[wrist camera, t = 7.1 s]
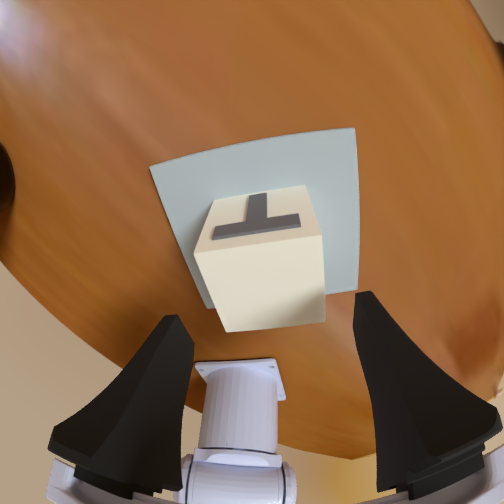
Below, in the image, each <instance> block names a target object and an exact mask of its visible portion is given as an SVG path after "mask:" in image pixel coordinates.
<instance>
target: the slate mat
mask: <svg viewBox="0 0 504 504" xmlns="http://www.w3.org/2000/svg"><path fill="white" fill-rule="evenodd" d="M149 168H150V171H151V173H152V176H153V179H154V182H155V185H156V187H157V190H158V193H159V196H160V198H161V201H162V204H163V206H164V209H165V211H166V214H167V217H168V219H169V222H170V224H171V227H172V229H173V232H174V234H175V237H176V239H177V242H178V244H179V246H180V249H181V251H182V254H183V256H184V258H185V261H186V263H187V265H188V268H189V270H190V272H191V275H192V277H193V279H194V281H195V284H196V286H197V288H198V290H199V293H200V295H201V297H202V299H203V301H204V304H205V306H206V308H207V309H210V308H215V305H214V303H213V301H212V298H211V296H210V294H209V291H208V289H207V286H206V284H205V281H204V279H203V277H202V274H201V272H200V269H199V267H198V264H197V262H196V259H195V257H194V254H193V253H194V250H195V248H196V245H197V242H198V240H199V237H200V234H201V232H202V229H203V226H204V224H205V221H206V219H207V216H208V214H209V211H210V209H211V206H212V204H213V201H214V200H218V199H223V198H229V197H234V196H240V195H245V194H251V193H257V192H263V191H269V190H276V189H282V188H289V187H296V186H303V185H305V186H306V189H307V192H308V195H309V198H310V200H311V203H312V206H313V209H314V212H315V215H316V218H317V221H318V224H319V227H320V230H321V233H322V243H323V259H324V278H325V295H326V294H332V293H339V292H345V291H351V290H357V286H358V268H359V233H360V215H359V179H358V162H357V149H356V137H355V128H353V127H352V128H340V129H330V130H320V131H312V132H304V133H296V134H289V135H283V136H276V137H270V138H264V139H259V140H253V141H248V142H243V143H238V144H233V145H229V146H224V147H219V148H215V149H211V150H207V151H203V152H198V153H195V154H191V155H187V156H183V157H179V158H176V159H172V160H169V161H165V162H162V163H158V164H155V165H152V166H150V167H149Z"/></svg>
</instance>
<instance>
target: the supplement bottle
mask: <svg viewBox="0 0 504 504" xmlns="http://www.w3.org/2000/svg"><path fill="white" fill-rule="evenodd" d="M13 192H14V175H13V169H12V165H11V162H10V159H9V156H8V154H7V152H6V150H5V148H4V147H3V146H2V144H1V143H0V213H1V212H3V211H4V210H5V209H6V208H7V207H8V205H9V204H10V202H11V200H12V197H13Z"/></svg>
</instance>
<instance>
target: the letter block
mask: <svg viewBox="0 0 504 504" xmlns="http://www.w3.org/2000/svg"><path fill="white" fill-rule="evenodd" d="M193 254H194V257H195V259H196V262H197V264H198V267H199V269H200V272H201V274H202V277H203V279H204V281H205V284H206V286H207V289H208V291H209V294H210V296H211V298H212V301H213V303H214V305H215V308H216V310H217V312H218V315H219V317H220V319H221V321H222V324H223V326H224V328H225V330H226V332H238V331H250V330H261V329H270V328H280V327H288V326H296V325H304V324H312V323H319V322H325V321H326V309H325V278H324V259H323V243H322V233H321V230H320V227H319V224H318V221H317V218H316V215H315V212H314V209H313V206H312V203H311V200H310V198H309V195H308V192H307V189H306V186H305V185H303V186H296V187H289V188H282V189H276V190H269V191H263V192H257V193H251V194H245V195H240V196H234V197H229V198H223V199H218V200H214V201H213V204H212V206H211V209H210V211H209V214H208V216H207V219H206V221H205V224H204V226H203V229H202V232H201V234H200V237H199V240H198V242H197V245H196V248H195V250H194V253H193Z"/></svg>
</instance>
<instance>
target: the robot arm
mask: <svg viewBox="0 0 504 504" xmlns="http://www.w3.org/2000/svg"><path fill="white" fill-rule="evenodd" d="M353 331H354V337H355V342H356V347H357V351H358V355H359V358H360V362H361V365H362V369H363V372H364V376H365V379H366V383H367V386H368V390H369V394H370V398H371V403H372V410H373V418H374V427H375V438H376V456H377V492H382V491H386V490H390V489H394V488H396V494H393V495H389V496H386V497H382V498H378V499H374V500H370V501H365V502H361V503H356V504H499V503H501V502H502V501H503V500H504V444H503V445H501V446H499V447H498V448H496V449H494V450H493V451H491V452H489V453H487V454H485V455H482V451H484V450H485V445H484V442H485V441H487V440H489V439H490V438H492V437H493V436H495V435H496V434H498V433H499V432H501V431H502V429H503V426H502V422H501V418H500V415H499V413H498V410H497V408H496V407H494V406H493V405H491V404H489V403H488V402H486V401H484V400H482V399H481V398H479V397H478V396H476V395H474V394H473V393H472V392H470V391H469V390H467V389H466V388H464V387H463V386H462V385H460V384H459V383H458V382H457V381H455V380H454V379H453V378H451V377H450V376H449V375H448V374H446V373H445V372H444V371H443V370H442V369H441V368H439V367H438V366H437V365H436V364H435V363H434V362H433V361H432V360H431V359H430V358H428V357H427V356H426V355H425V354H424V353H423V352H422V351H421V350H420V349H419V347H418V346H417V345H416V344H415V343H414V342H413V341H412V340H411V339H410V338H409V337H408V336H407V334H406V333H405V332H404V331H403V330H402V329H401V328H400V326H399V325H398V324H397V323H396V322H395V321H394V319H393V318H392V317H391V316H390V314H389V313H388V312H387V311H386V309H385V308H384V307H383V306H382V304H381V303H380V302H379V300H378V299H377V298H376V296H375V295H374V294H373V292H371V291H365V292H360V293H355V306H354V318H353ZM193 356H194V342H193V340H192V339H191V337H190V335H189V334H188V332H187V330H186V329H185V327H184V325H183V323H182V322H181V320H180V318H179V316H178V315H165V316H164V317H163V318H162V320H161V321H160V322H159V324H158V325H157V326H156V328H155V329H154V330H153V332H152V333H151V334H150V336H149V337H148V338H147V340H146V341H145V342H144V344H143V345H142V346H141V348H140V349H139V350H138V352H137V353H136V354H135V355H134V357H133V358H132V359H131V360H130V362H129V363H128V364H127V365H126V366H125V368H124V369H123V370H122V371H121V372H120V374H119V375H118V376H117V377H116V378H115V379H114V380H113V381H112V382H111V383H110V384H109V385H108V387H106V388H105V389H104V390H103V391H102V392H101V393H100V394H99V395H98V396H97V397H95V398H94V399H93V400H92V401H91V402H90V403H89V404H88V405H86V406H85V407H84V408H82V409H81V410H80V411H78V412H77V413H76V414H74V415H73V416H71V417H70V418H68V419H66V420H65V421H63V422H61V423H60V424H58V425H56V426H54V429H53V432H52V434H51V438H50V441H49V445H48V450H49V451H51V452H52V453H54V454H56V455H58V456H60V457H62V458H64V459H66V460H68V461H70V462H72V463H74V464H76V467H75V468H74V467H72V466H70V465H68V464H66V463H64V462H62V461H60V460H58V459H54V463H53V466H52V470H51V474H50V478H49V483H48V487H47V491H46V497H47V498H48V499H50V500H51V501H52V502H54V503H55V504H295V502H296V492H297V491H296V490H297V485H296V477H295V473H294V470H293V468H292V467H290V466H289V464H288V463H287V462H282V458H281V457H282V455H277V401H280V400H285V399H286V395H285V391H284V387H283V384H282V380H281V377H280V373H279V370H278V366H277V362H276V360H275V359H272V358H269V359H256V360H242V361H221V362H197V363H195V368H196V370H197V371H198V372H199V374H200V375H201V376H202V378H203V379H204V380H205V382H206V383H207V389H206V395H205V402H204V408H203V415H202V422H201V429H200V436H199V443H198V448H195V450H194V455H193V454H187V455H186V456H185V457H183V458H181V429H182V416H183V409H184V404H185V399H186V394H187V390H188V385H189V380H190V376H191V371H192V366H193ZM162 489H166V490H170V491H174V502H173V501H168V500H164V499H160V498H156V497H153V493H154V492H157V493H162Z"/></svg>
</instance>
